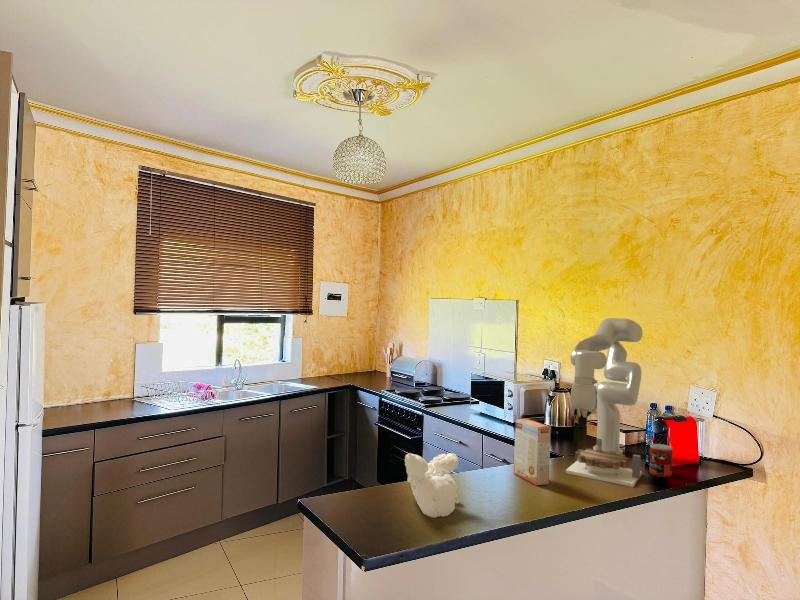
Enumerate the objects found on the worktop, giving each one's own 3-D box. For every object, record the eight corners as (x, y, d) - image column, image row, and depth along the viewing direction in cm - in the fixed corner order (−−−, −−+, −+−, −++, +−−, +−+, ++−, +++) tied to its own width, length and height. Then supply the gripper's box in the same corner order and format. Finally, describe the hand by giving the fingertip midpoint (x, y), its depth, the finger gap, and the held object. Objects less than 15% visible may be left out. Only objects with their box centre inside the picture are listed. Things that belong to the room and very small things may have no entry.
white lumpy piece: (434, 495, 139) (405, 442, 154) (409, 542, 147) (383, 487, 162) (486, 489, 149) (454, 439, 164) (459, 533, 157) (431, 482, 172)
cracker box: (550, 485, 179) (551, 426, 180) (536, 486, 177) (537, 427, 178) (526, 472, 192) (528, 418, 193) (513, 474, 190) (514, 418, 191)
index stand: (578, 462, 210) (579, 439, 210) (643, 474, 196) (644, 450, 196) (565, 473, 194) (566, 449, 194) (635, 487, 180) (636, 461, 180)
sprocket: (582, 451, 209) (583, 434, 209) (632, 460, 198) (632, 442, 199) (569, 462, 193) (570, 442, 193) (623, 472, 183) (623, 452, 183)
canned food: (644, 471, 200) (645, 444, 200) (660, 470, 202) (661, 443, 203) (660, 478, 193) (660, 449, 193) (676, 476, 195) (677, 448, 195)
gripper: (605, 383, 205) (603, 428, 204) (568, 379, 213) (566, 422, 212) (601, 384, 199) (599, 431, 198) (563, 380, 207) (561, 425, 206)
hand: (582, 426), depth 205 cm, fingers closed
